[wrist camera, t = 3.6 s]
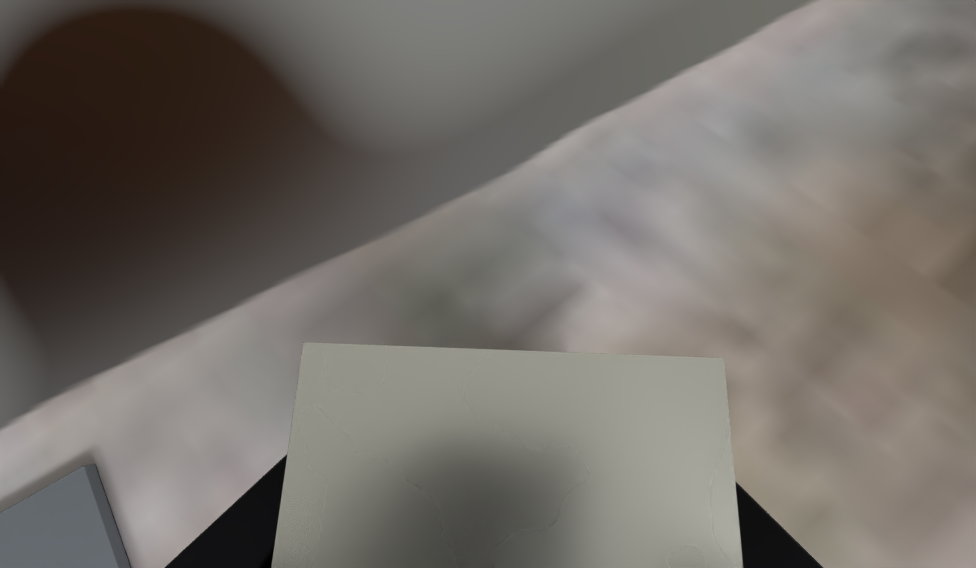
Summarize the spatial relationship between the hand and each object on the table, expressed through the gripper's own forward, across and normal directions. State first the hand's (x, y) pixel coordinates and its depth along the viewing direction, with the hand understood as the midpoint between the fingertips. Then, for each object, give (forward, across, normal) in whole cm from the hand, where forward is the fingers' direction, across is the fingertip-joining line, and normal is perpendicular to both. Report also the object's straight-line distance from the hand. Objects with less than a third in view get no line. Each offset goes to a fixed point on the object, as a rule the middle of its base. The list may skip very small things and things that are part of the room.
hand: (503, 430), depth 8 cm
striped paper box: (+4, 0, +6) cm, 7 cm away
